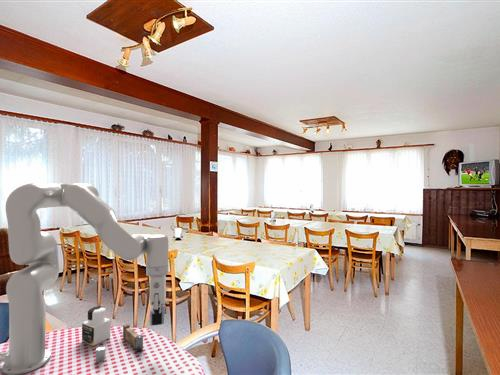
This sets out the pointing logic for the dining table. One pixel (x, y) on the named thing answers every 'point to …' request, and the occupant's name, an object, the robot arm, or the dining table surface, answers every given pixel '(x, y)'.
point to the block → (152, 312)
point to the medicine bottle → (96, 326)
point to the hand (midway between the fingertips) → (157, 320)
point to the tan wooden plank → (129, 335)
